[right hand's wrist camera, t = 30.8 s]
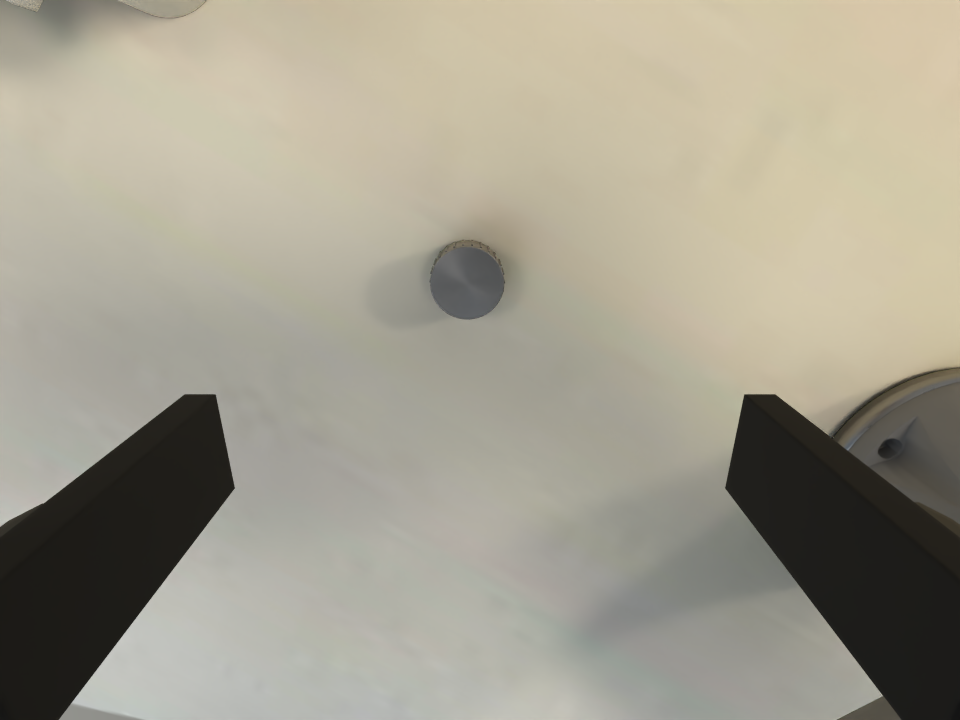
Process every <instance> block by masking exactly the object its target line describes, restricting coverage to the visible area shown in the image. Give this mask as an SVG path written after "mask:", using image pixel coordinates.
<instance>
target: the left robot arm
mask: <svg viewBox="0 0 960 720" xmlns="http://www.w3.org/2000/svg"><path fill="white" fill-rule="evenodd" d="M6 1H8V2H10V3H12V4H14V5H17V6H20V7H23V8H26V9H29V10H33V11H36V12H37V11H38V10H39V8H40V6H41V4H42V2H43V0H6Z"/></svg>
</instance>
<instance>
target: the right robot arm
mask: <svg viewBox="0 0 960 720" xmlns="http://www.w3.org/2000/svg"><path fill="white" fill-rule="evenodd" d="M234 489H235V487H234V482H233V477H232V472H231V467H230V463H229V458H228V453H227V448H226V443H225V438H224V433H223V428H222V423H221V418H220V414H219V409H218V404H217V399H216V394H185V395H183V396H182V397H181V398H180V399H178V400H177V401H176V402H174V403H173V404H172V405H171V406H169V407H168V408H167V409H165V410H164V411H163V412H161V413H160V414H159V415H158V416H156V417H155V418H154V419H152V420H151V421H150V422H149V423H147V424H146V425H145V426H143V427H142V428H141V429H140V430H138V431H137V432H136V433H134V434H133V435H132V436H130V437H129V438H128V439H127V440H125V441H124V442H123V443H121V444H120V445H119V446H118V447H116V448H115V449H114V450H112V451H111V452H110V453H109V454H107V455H106V456H105V457H103V458H102V459H101V460H99V461H98V462H97V463H96V464H94V465H93V466H92V467H90V468H89V469H88V470H87V471H85V472H84V473H83V474H81V475H80V476H79V477H78V478H76V479H75V480H74V481H72V482H71V483H70V484H68V485H67V486H66V487H65V488H63V489H62V490H61V491H59V492H58V493H57V494H56V495H54V496H53V497H52V498H50V499H49V500H48V501H47V502H45V503H44V504H40V505H39V506H37V507H35V508H33V509H31V510H29V511H27V512H25V513H23V514H21V515H19V516H17V517H15V518H13V519H11V520H9V521H8V522H6V523H5V524H4V525H2V526H1V527H0V720H59V719H60V717H61V716H62V715H63V713H64V712H65V711H66V709H67V708H68V707H69V705H70V704H71V703H72V701H73V700H74V699H75V698H76V696H77V695H78V694H79V692H80V691H81V690H82V688H83V687H84V686H85V684H86V683H87V682H88V680H89V679H90V678H91V677H92V675H93V674H94V673H95V671H96V670H97V669H98V667H99V666H100V665H101V663H102V662H103V661H104V659H105V658H106V657H107V655H108V654H109V653H110V652H111V650H112V649H113V648H114V646H115V645H116V644H117V642H118V641H119V640H120V638H121V637H122V636H123V634H124V633H125V632H126V631H127V629H128V628H129V627H130V625H131V624H132V623H133V621H134V620H135V619H136V617H137V616H138V615H139V613H140V612H141V611H142V609H143V608H144V607H145V606H146V604H147V603H148V602H149V600H150V599H151V598H152V596H153V595H154V594H155V592H156V591H157V590H158V588H159V587H160V586H161V585H162V583H163V582H164V581H165V579H166V578H167V577H168V575H169V574H170V573H171V571H172V570H173V569H174V567H175V566H176V565H177V563H178V562H179V561H180V560H181V558H182V557H183V556H184V554H185V553H186V552H187V550H188V549H189V548H190V546H191V545H192V544H193V542H194V541H195V540H196V539H197V537H198V536H199V535H200V533H201V532H202V531H203V529H204V528H205V527H206V525H207V524H208V523H209V521H210V520H211V519H212V517H213V516H214V515H215V514H216V512H217V511H218V510H219V508H220V507H221V506H222V504H223V503H224V502H225V500H226V499H227V498H228V496H229V495H230V494H231V493H232V491H233V490H234ZM725 489H726V490H727V491H728V493H729V494H730V495H731V496H732V498H733V499H734V500H735V502H736V503H737V504H738V506H739V507H740V508H741V510H742V511H743V512H744V514H745V515H746V516H747V517H748V519H749V520H750V521H751V523H752V524H753V525H754V527H755V528H756V529H757V531H758V532H759V533H760V535H761V536H762V537H763V539H764V540H765V541H766V542H767V544H768V545H769V546H770V548H771V549H772V550H773V552H774V553H775V554H776V556H777V557H778V558H779V560H780V561H781V562H782V563H783V565H784V566H785V567H786V569H787V570H788V571H789V573H790V574H791V575H792V577H793V578H794V579H795V581H796V582H797V583H798V585H799V586H800V587H801V588H802V590H803V591H804V592H805V594H806V595H807V596H808V598H809V599H810V600H811V602H812V603H813V604H814V606H815V607H816V608H817V609H818V611H819V612H820V613H821V615H822V616H823V617H824V619H825V620H826V621H827V623H828V624H829V625H830V627H831V628H832V629H833V631H834V632H835V633H836V634H837V636H838V637H839V638H840V640H841V641H842V642H843V644H844V645H845V646H846V648H847V649H848V650H849V652H850V653H851V654H852V655H853V657H854V658H855V659H856V661H857V662H858V663H859V665H860V666H861V667H862V669H863V670H864V671H865V673H866V674H867V675H868V677H869V678H870V679H871V680H872V682H873V683H874V684H875V686H876V687H877V688H878V690H879V691H880V692H881V694H882V695H883V697H881V698H879V699H877V700H875V701H873V702H871V703H869V704H867V705H865V706H863V707H861V708H859V709H857V710H855V711H853V712H851V713H849V714H847V715H845V716H843V717H841V718H839V719H837V720H960V368H957V369H949V370H943V371H938V372H934V373H930V374H927V375H924V376H920V377H917V378H915V379H912V380H910V381H907V382H905V383H903V384H900V385H898V386H896V387H894V388H892V389H890V390H889V391H887V392H885V393H884V394H882V395H880V396H879V397H877V398H876V399H874V400H873V401H871V402H870V403H868V404H867V405H866V406H865V407H863V408H862V409H861V410H859V411H858V412H857V413H856V414H855V415H854V416H853V417H852V418H850V419H849V420H848V421H847V422H846V424H845V425H844V426H843V427H842V428H841V429H840V430H839V431H838V432H837V434H836V435H835V436H834V437H833V439H832V438H831V437H830V436H828V435H827V434H826V433H824V432H823V431H822V430H820V429H819V428H818V427H817V426H815V425H814V424H813V423H811V422H810V421H809V420H808V419H806V418H805V417H804V416H802V415H801V414H800V413H799V412H797V411H796V410H795V409H793V408H792V407H791V406H789V405H788V404H787V403H786V402H784V401H783V400H782V399H780V398H779V397H778V396H777V395H775V394H744V399H743V404H742V409H741V414H740V418H739V423H738V428H737V433H736V438H735V443H734V448H733V453H732V458H731V463H730V467H729V472H728V477H727V482H726V487H725Z"/></svg>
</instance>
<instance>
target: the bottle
mask: <svg viewBox="0 0 960 720" xmlns="http://www.w3.org/2000/svg"><path fill="white" fill-rule="evenodd" d="M118 1H120V2H122V3H125V4H127V5H129V6H132V7H134V8H136V9H139V10H141V11H143V12H146V13H148V14H151V15H154V16H158V17H164V18H176V17H181V16H185V15H187V14H189V13H191V12H193V11H195V10H196V9H198V8H199V7H200V6H201V5H202V4H203V3H204V2H205V1H206V0H118Z"/></svg>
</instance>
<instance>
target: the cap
mask: <svg viewBox="0 0 960 720" xmlns="http://www.w3.org/2000/svg"><path fill="white" fill-rule="evenodd" d="M430 274H431V278H430V286H431V292H432V295H433V297H434V300H435V301H436V303H437V304H438V306H439V307H440V308H441V309H442V310H443V311H445V312H446V313H447V314H449V315H451V316H453V317H456V318H460V319H475V318H479V317H482V316H484V315H486V314H487V313H489V312H490V311H491V310H493V309H494V308H495V306H496V305H497V304H498V302H499V301H500V299H501V297H502V294H503V291H504V283H505V281H504V276H503V275H504V272H503V268H502V267H501V263H500V260H499V259H498V258H497V256H496V254H495V252H493V251H492V250H491V249H489V247H488V246H485V245H483V244H481V242H480V243H479V242H475V241H473V240H471V241H464V240H462V241H459V242H454V243H453V244H451V245H449V246H446V248H445V249H444V250H443V251H442V252H441V251H440V254H439V256H438V257H437V259H435V261H434V266H433V267H432V270H431V273H430Z"/></svg>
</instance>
